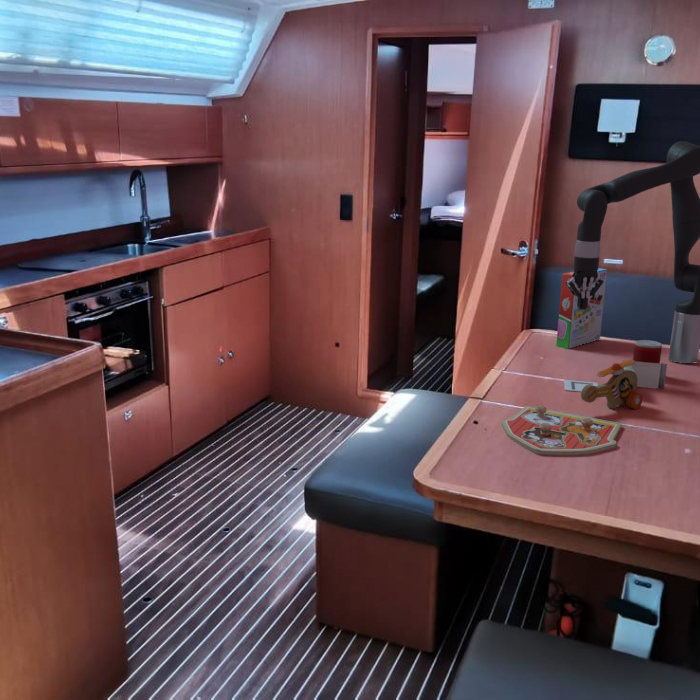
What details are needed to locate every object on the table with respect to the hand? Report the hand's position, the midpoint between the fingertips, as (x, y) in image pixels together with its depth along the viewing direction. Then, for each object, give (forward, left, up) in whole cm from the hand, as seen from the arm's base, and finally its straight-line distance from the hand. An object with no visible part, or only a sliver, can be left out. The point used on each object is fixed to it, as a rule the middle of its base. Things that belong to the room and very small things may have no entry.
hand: (582, 309), depth 235 cm
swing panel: (+14, +17, -20) cm, 30 cm away
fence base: (+7, +21, -21) cm, 30 cm away
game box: (-36, -5, -21) cm, 42 cm away
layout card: (+16, +5, -21) cm, 27 cm away
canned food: (-5, +21, -21) cm, 30 cm away
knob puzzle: (+59, +6, -21) cm, 63 cm away
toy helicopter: (+32, +15, -21) cm, 41 cm away
